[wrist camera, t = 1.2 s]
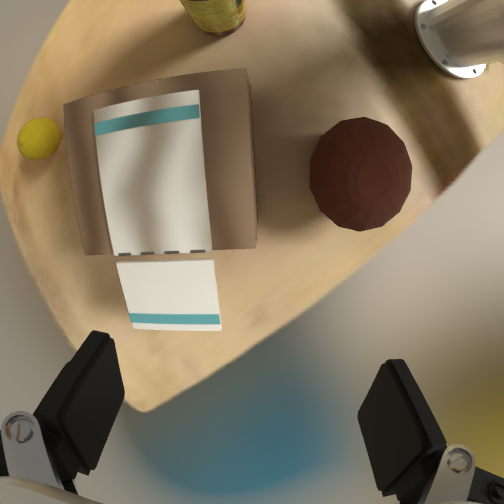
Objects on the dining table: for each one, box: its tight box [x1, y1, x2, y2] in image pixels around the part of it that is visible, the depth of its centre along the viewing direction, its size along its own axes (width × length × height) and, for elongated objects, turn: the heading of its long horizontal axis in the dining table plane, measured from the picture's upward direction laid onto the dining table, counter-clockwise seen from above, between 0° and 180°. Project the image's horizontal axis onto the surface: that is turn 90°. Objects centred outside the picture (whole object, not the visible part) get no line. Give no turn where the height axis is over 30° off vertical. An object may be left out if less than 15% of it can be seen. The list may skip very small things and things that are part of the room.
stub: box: [116, 258, 222, 331], centre depth 30 cm, size 10×8×1 cm
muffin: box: [310, 117, 412, 232], centre depth 30 cm, size 12×11×10 cm
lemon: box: [17, 118, 61, 160], centre depth 29 cm, size 6×6×8 cm
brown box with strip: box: [64, 69, 258, 256], centre depth 29 cm, size 18×16×11 cm
